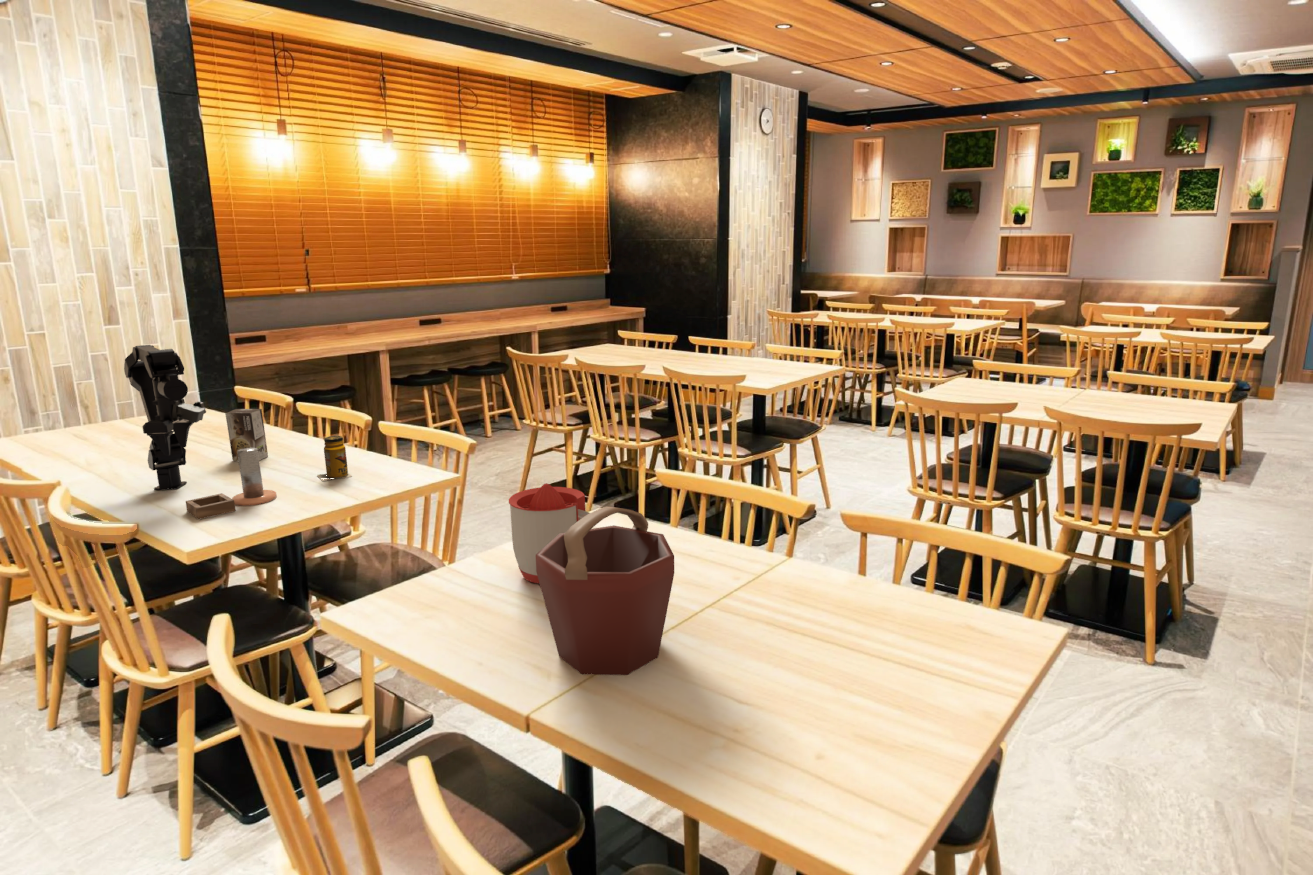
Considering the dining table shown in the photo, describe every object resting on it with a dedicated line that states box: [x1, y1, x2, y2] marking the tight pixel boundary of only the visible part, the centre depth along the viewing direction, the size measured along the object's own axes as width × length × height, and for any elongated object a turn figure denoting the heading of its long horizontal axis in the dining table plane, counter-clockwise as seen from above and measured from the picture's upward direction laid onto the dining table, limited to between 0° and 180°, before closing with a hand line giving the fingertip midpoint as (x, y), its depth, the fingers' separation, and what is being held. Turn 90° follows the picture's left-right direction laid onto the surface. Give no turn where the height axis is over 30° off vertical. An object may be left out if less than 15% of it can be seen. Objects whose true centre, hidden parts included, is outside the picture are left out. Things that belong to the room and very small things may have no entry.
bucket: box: [536, 505, 675, 676], centre depth 139 cm, size 24×22×25 cm
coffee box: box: [225, 408, 269, 462], centre depth 269 cm, size 9×6×16 cm
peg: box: [237, 448, 264, 499], centre depth 226 cm, size 5×5×13 cm
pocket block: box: [185, 493, 237, 520], centre depth 218 cm, size 9×9×3 cm
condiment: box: [317, 435, 352, 482], centre depth 248 cm, size 7×8×12 cm
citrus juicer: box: [508, 482, 590, 585], centre depth 171 cm, size 16×17×20 cm
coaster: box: [231, 489, 277, 507], centre depth 228 cm, size 11×11×1 cm
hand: (175, 451), depth 229 cm, fingers open, 9 cm apart
